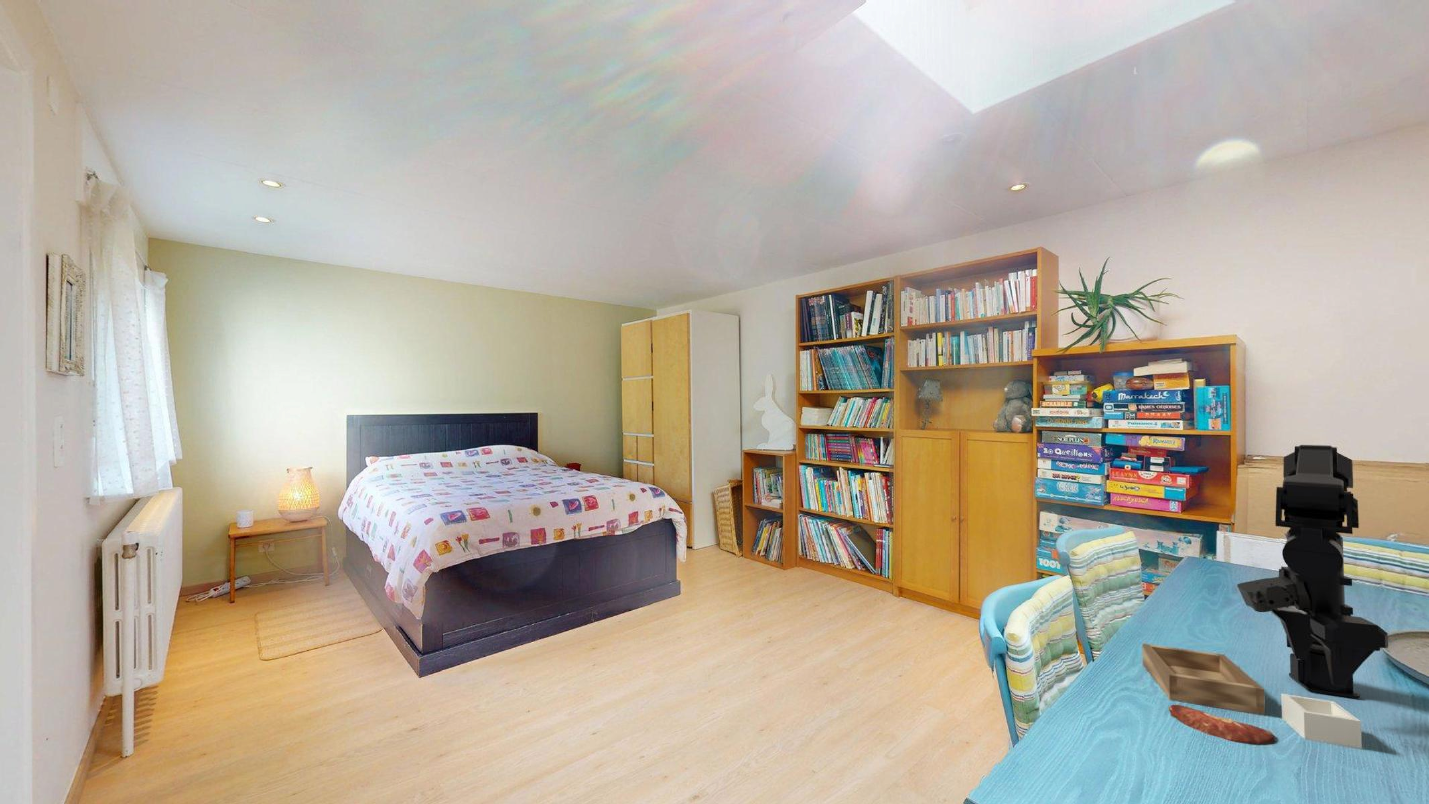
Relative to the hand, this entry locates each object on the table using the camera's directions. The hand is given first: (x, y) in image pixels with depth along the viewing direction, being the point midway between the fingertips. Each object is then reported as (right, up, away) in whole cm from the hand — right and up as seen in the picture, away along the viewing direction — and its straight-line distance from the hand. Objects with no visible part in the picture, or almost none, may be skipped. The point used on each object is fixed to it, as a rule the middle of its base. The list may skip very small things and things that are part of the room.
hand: (1318, 671), depth 82 cm
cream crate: (0, -9, 0) cm, 9 cm away
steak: (-14, -10, +1) cm, 17 cm away
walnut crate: (-6, -9, +13) cm, 17 cm away
